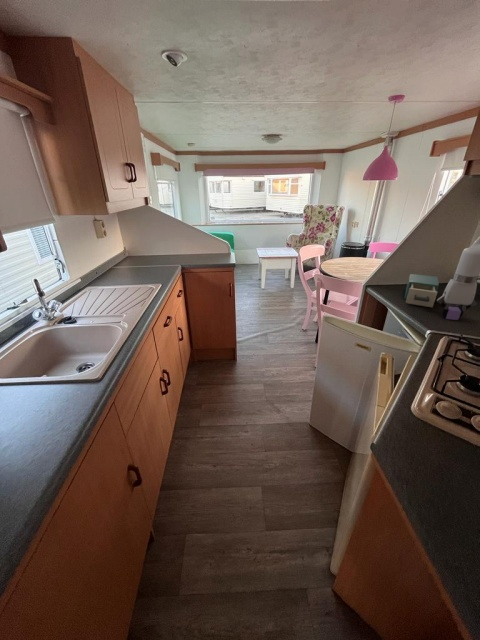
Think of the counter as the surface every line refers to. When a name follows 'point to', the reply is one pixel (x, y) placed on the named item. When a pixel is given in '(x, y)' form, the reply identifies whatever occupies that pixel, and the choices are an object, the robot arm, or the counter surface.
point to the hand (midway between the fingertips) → (450, 316)
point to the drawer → (421, 295)
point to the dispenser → (421, 281)
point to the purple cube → (453, 313)
